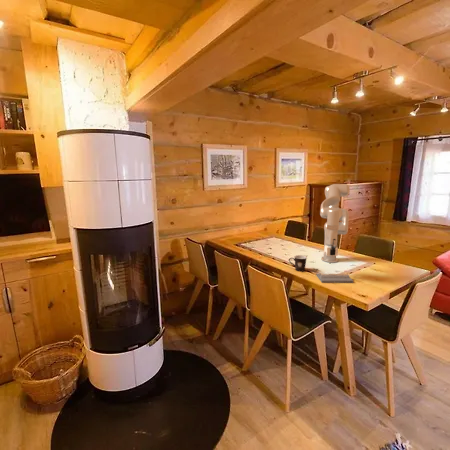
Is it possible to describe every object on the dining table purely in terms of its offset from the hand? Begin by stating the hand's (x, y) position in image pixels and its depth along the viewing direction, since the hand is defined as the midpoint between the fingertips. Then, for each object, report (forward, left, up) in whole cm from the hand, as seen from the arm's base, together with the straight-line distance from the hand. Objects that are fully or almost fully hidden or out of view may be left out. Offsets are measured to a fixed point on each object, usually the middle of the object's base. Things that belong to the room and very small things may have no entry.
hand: (330, 253), depth 184 cm
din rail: (+5, +1, -15) cm, 16 cm away
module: (0, 0, -1) cm, 1 cm away
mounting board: (+5, +1, -16) cm, 17 cm away
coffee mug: (-13, -19, -16) cm, 28 cm away
